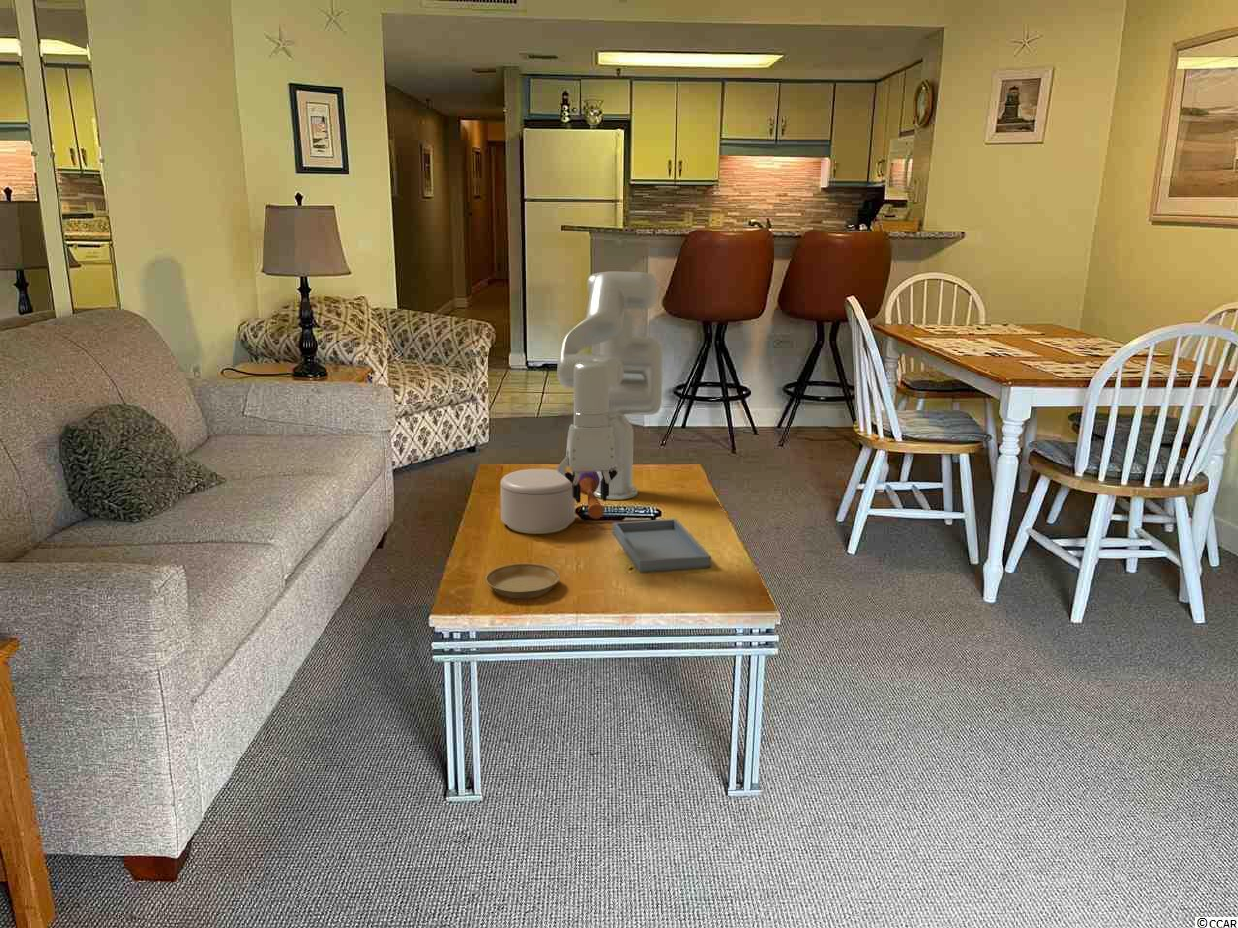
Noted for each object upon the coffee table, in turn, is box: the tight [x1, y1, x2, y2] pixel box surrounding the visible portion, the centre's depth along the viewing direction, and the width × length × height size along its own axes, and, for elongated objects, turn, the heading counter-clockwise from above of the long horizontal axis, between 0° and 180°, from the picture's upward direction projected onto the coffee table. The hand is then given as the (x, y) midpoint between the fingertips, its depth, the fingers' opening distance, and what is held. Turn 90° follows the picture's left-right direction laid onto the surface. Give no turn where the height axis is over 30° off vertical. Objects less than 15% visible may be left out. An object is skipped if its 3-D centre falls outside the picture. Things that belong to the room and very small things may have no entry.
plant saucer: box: [485, 563, 561, 600], centre depth 186 cm, size 15×15×3 cm
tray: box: [611, 518, 712, 574], centre depth 208 cm, size 26×16×3 cm, turn 13°
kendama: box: [579, 472, 605, 520], centre depth 202 cm, size 6×6×20 cm
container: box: [499, 468, 576, 535], centre depth 223 cm, size 18×18×12 cm
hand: (590, 499), depth 202 cm, fingers closed on kendama, 5 cm apart
